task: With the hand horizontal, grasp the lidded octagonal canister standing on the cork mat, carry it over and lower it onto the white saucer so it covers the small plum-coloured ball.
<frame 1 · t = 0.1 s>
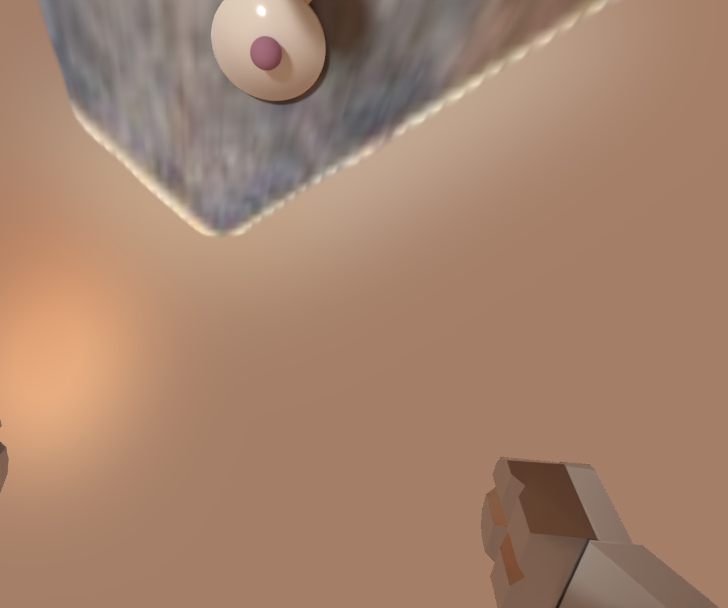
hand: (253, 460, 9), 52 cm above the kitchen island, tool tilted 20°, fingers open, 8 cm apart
ball: (268, 47, 55), point 1 cm above the kitchen island, touching saucer
saucer: (269, 43, 56), on the kitchen island
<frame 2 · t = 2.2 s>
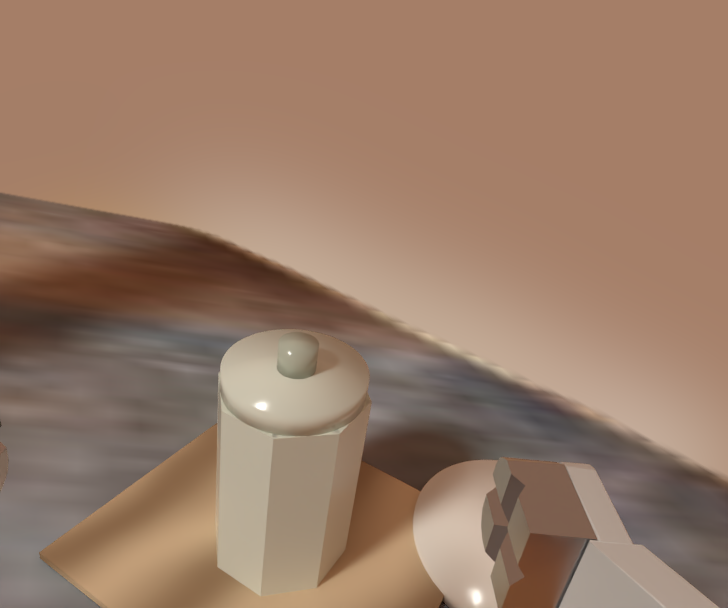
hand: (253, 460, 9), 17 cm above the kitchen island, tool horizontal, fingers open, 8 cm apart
mat: (279, 541, 28), on the kitchen island
saucer: (515, 546, 30), on the kitchen island
lidded octagonal canister: (279, 536, 28), resting on mat
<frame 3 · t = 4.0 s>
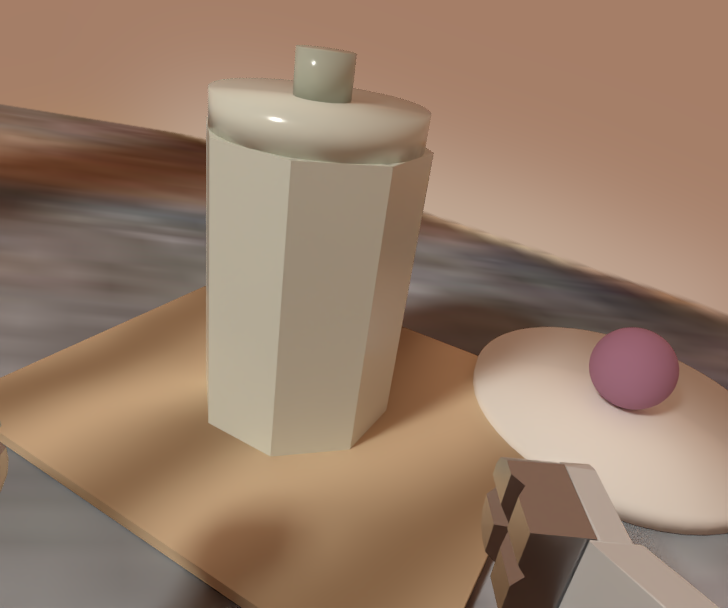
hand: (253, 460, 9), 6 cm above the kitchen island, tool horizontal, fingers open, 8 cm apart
mat: (294, 402, 20), on the kitchen island
ball: (619, 400, 22), point 1 cm above the kitchen island, touching saucer
saucer: (612, 417, 22), on the kitchen island
lidded octagonal canister: (295, 393, 20), resting on mat
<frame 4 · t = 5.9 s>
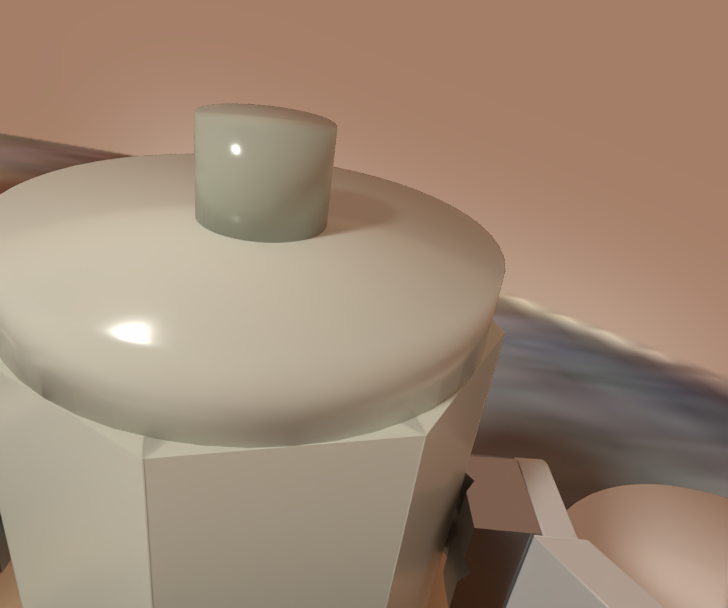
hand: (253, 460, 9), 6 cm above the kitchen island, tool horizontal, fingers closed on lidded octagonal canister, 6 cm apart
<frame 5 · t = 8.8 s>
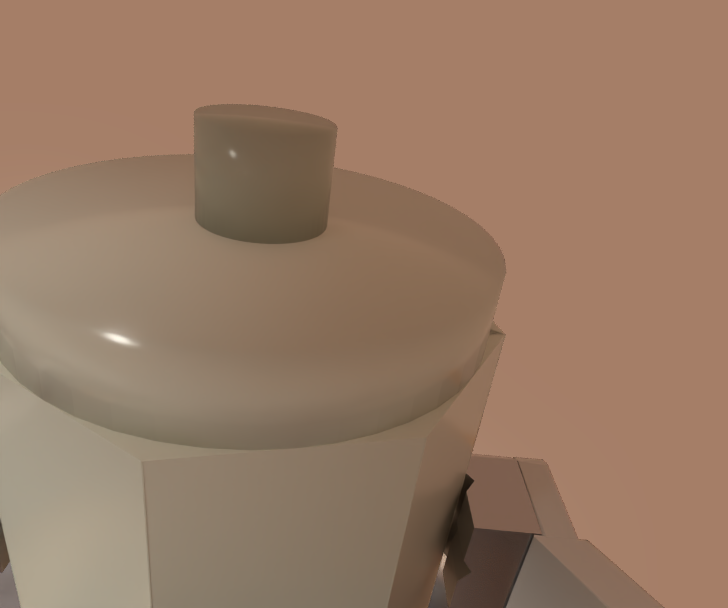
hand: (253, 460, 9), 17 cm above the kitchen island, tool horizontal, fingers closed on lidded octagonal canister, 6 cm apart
when the fingers open (8 cm above the kitchen island, at t = 11.3 s): lidded octagonal canister drops 2 cm, resting on saucer.
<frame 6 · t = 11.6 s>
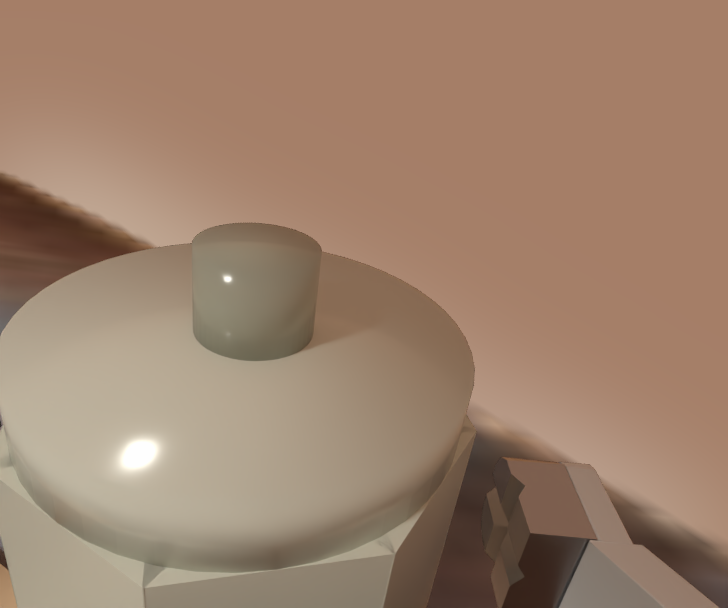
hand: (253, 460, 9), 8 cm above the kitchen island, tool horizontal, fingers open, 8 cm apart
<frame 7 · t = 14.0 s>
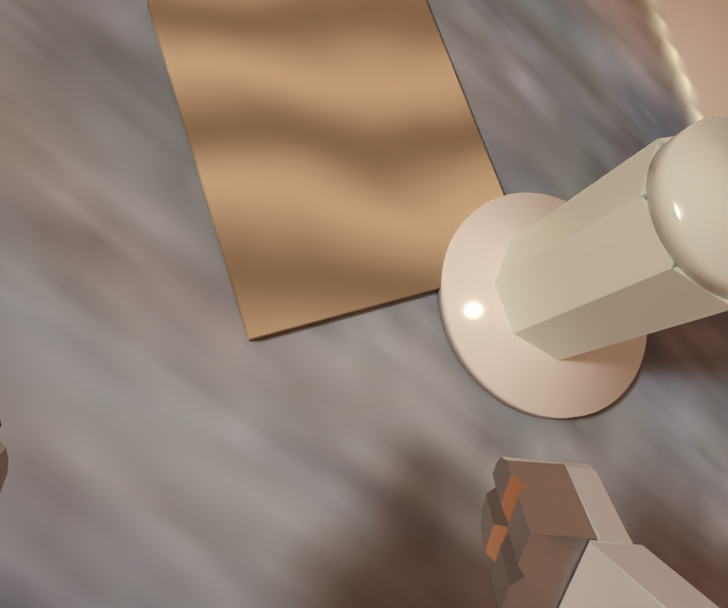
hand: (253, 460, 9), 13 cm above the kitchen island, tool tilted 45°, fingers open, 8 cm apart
mat: (345, 140, 27), on the kitchen island
saucer: (541, 303, 28), on the kitchen island
lidded octagonal canister: (555, 293, 27), point 1 cm above the kitchen island, touching saucer
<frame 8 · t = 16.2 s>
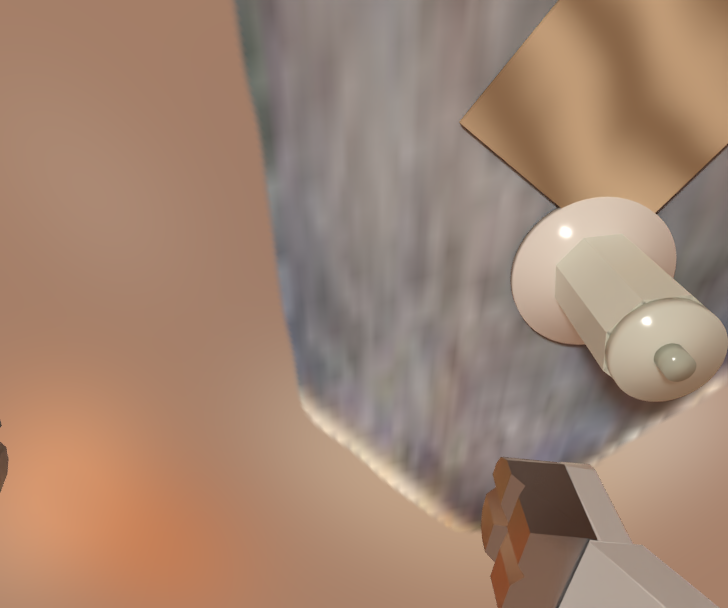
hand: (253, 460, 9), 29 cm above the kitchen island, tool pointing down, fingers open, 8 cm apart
mat: (635, 85, 34), on the kitchen island
saucer: (589, 271, 40), on the kitchen island
lidded octagonal canister: (599, 276, 39), point 1 cm above the kitchen island, touching saucer
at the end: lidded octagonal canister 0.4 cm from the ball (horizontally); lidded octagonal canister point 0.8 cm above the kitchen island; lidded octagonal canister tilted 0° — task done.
